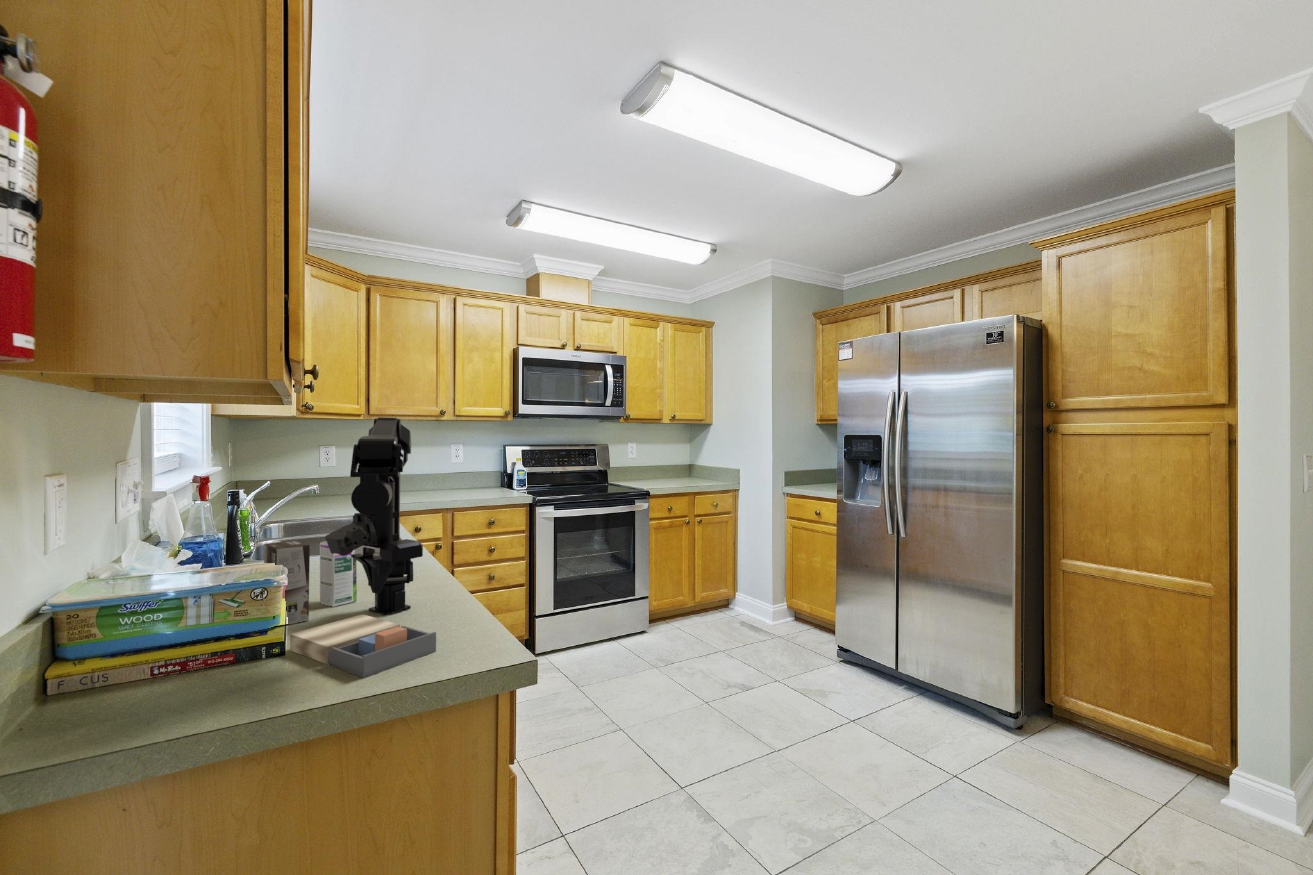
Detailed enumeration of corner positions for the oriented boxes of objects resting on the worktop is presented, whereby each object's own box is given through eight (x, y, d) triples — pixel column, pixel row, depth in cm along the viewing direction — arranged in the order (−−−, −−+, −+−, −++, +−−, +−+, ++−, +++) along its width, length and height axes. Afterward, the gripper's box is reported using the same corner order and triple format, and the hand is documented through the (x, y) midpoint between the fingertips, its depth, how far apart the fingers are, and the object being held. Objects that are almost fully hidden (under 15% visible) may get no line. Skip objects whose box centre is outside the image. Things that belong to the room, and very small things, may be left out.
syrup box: (332, 607, 134) (333, 543, 134) (318, 603, 137) (319, 541, 137) (357, 601, 139) (357, 540, 139) (343, 597, 142) (343, 537, 142)
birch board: (290, 650, 108) (290, 633, 108) (362, 629, 120) (362, 614, 120) (327, 664, 102) (327, 646, 102) (399, 640, 114) (399, 624, 114)
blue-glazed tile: (358, 653, 105) (358, 639, 105) (381, 645, 109) (381, 631, 109) (373, 658, 103) (373, 643, 103) (396, 650, 107) (396, 636, 107)
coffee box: (310, 620, 124) (311, 544, 124) (275, 628, 120) (275, 548, 120) (296, 611, 131) (297, 538, 131) (262, 618, 126) (263, 542, 126)
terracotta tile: (375, 633, 102) (384, 636, 101) (398, 626, 106) (407, 628, 105) (374, 659, 102) (383, 662, 101) (397, 651, 106) (406, 653, 105)
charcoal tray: (329, 664, 101) (329, 644, 101) (401, 640, 113) (401, 622, 113) (364, 677, 96) (364, 656, 96) (436, 651, 108) (436, 632, 108)
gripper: (303, 507, 105) (302, 594, 105) (366, 517, 95) (365, 613, 96) (362, 501, 115) (361, 581, 115) (425, 509, 105) (424, 597, 105)
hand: (376, 592), depth 107 cm, fingers closed
